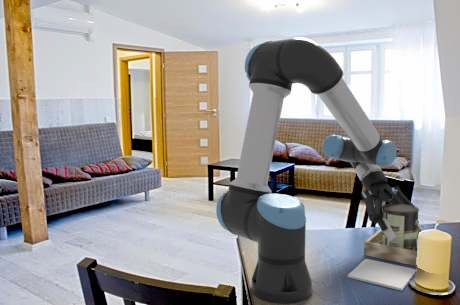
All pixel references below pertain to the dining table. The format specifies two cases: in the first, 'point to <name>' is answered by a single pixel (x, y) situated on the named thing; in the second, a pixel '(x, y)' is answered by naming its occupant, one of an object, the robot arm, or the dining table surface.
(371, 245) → the crate frame
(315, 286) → the dining table surface
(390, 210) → the coffee can
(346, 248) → the dining table surface
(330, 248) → the dining table surface
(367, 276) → the ceramic tile
